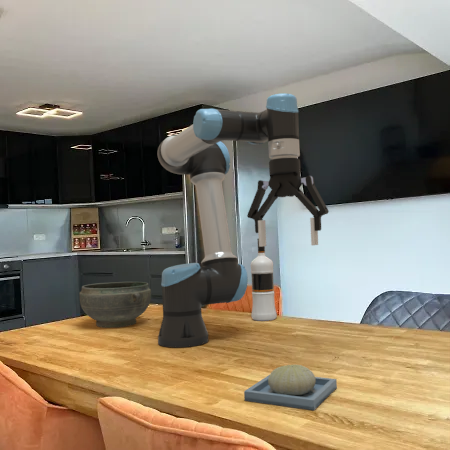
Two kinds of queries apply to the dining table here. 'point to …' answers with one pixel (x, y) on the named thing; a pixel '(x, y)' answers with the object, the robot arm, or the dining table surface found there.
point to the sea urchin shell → (291, 380)
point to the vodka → (262, 287)
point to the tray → (306, 401)
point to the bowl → (115, 302)
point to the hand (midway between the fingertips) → (288, 245)
